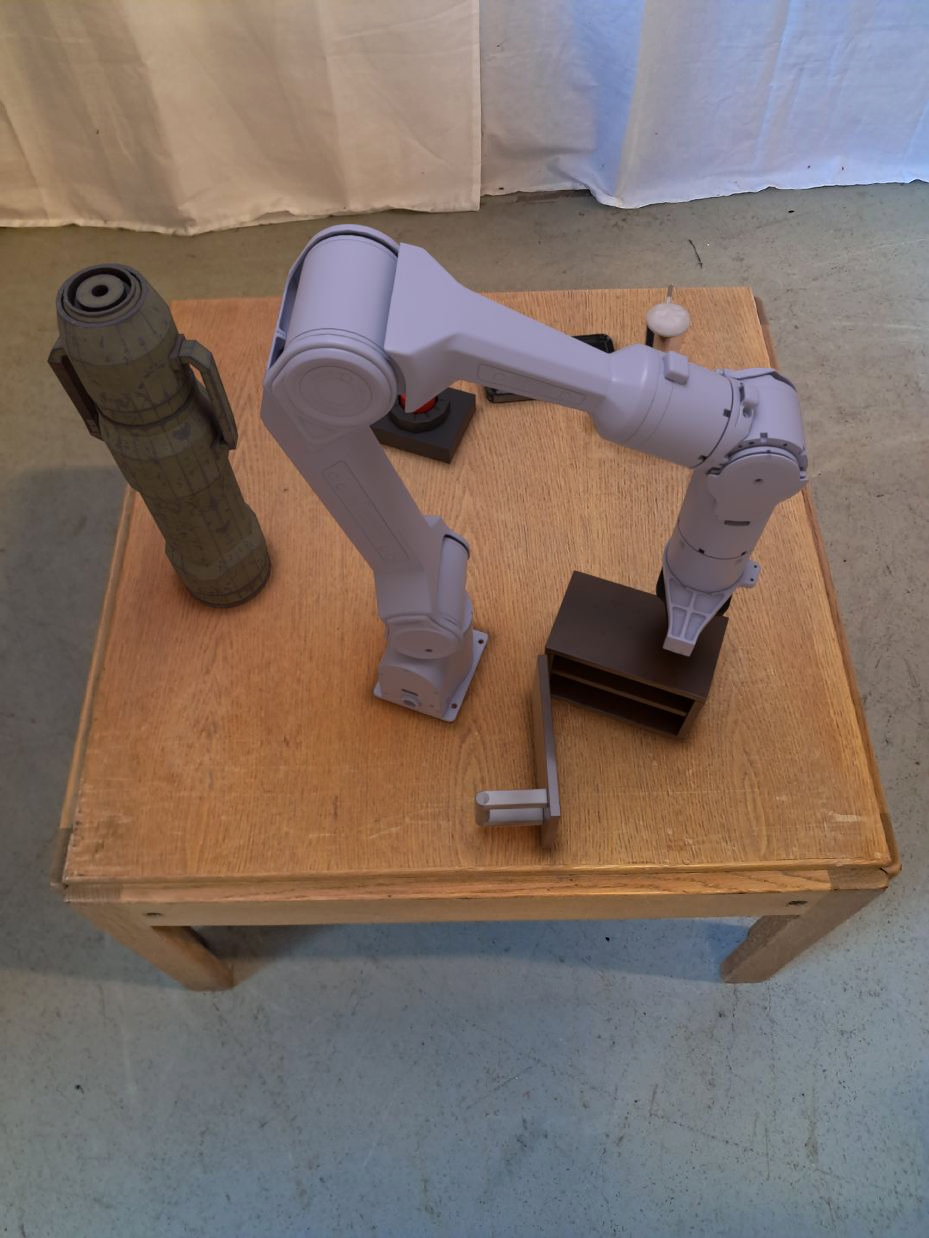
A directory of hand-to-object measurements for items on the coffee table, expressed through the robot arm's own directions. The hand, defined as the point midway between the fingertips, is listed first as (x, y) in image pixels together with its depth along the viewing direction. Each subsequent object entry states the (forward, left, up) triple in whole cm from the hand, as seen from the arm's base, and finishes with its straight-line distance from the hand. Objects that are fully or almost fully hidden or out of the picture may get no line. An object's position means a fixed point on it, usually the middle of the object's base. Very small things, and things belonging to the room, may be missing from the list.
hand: (681, 618), depth 75 cm
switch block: (+20, +32, -10) cm, 39 cm away
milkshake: (+36, +10, -11) cm, 39 cm away
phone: (+32, +21, -10) cm, 40 cm away
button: (+20, +32, -7) cm, 38 cm away
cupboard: (-2, +3, -10) cm, 11 cm away
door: (-14, +10, -10) cm, 20 cm away
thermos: (-4, +43, -11) cm, 44 cm away
